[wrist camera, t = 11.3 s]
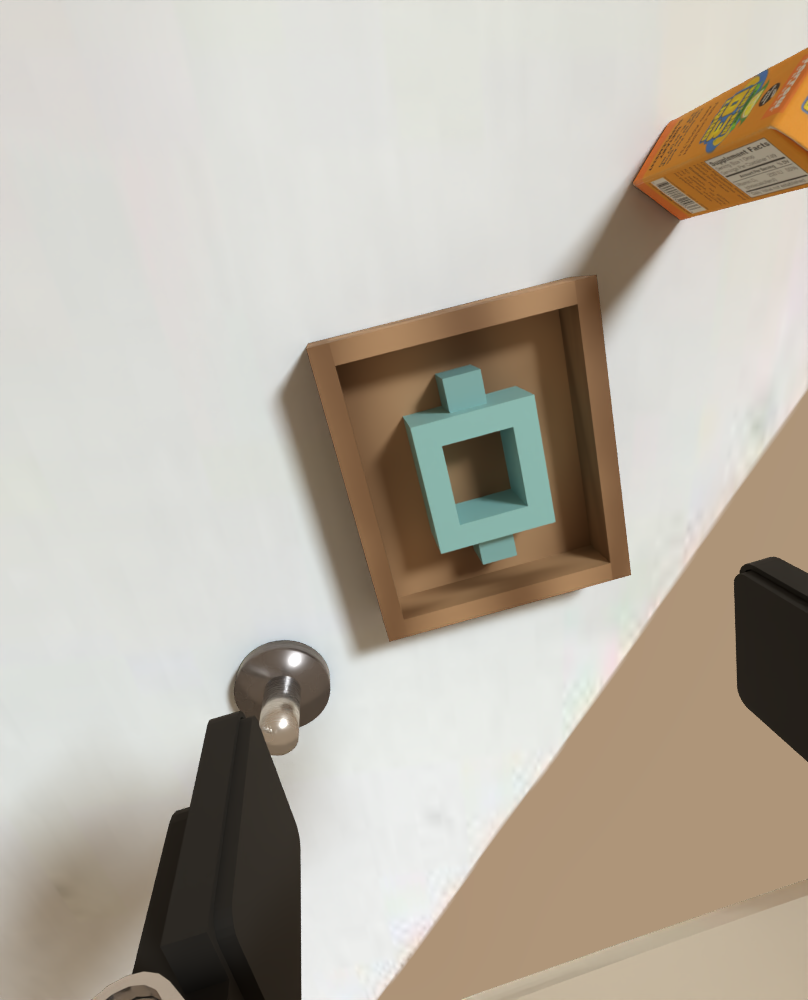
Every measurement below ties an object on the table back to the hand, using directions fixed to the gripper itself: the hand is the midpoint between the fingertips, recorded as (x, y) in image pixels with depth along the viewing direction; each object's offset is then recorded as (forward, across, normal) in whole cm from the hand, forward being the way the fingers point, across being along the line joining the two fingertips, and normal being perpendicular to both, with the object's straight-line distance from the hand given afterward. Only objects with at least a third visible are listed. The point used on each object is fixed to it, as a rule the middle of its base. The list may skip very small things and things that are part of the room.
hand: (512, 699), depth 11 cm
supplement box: (+20, -16, -10) cm, 28 cm away
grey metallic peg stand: (+21, +8, +12) cm, 25 cm away
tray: (+20, -5, +2) cm, 21 cm away
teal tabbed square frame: (+20, -5, +2) cm, 20 cm away
